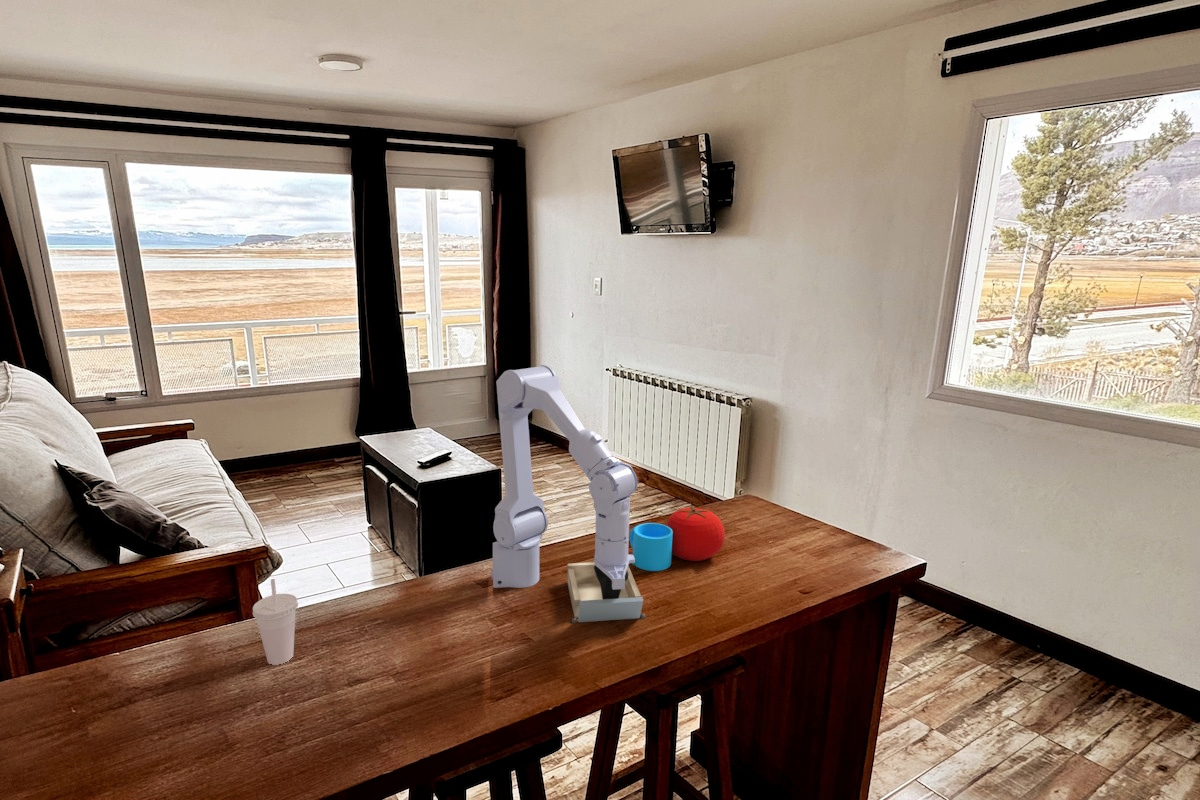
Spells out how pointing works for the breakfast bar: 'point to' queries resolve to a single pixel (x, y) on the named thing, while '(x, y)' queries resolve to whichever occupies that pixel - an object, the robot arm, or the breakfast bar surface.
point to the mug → (652, 546)
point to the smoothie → (277, 625)
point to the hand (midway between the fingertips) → (610, 606)
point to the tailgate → (610, 609)
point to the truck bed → (593, 586)
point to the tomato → (695, 533)
